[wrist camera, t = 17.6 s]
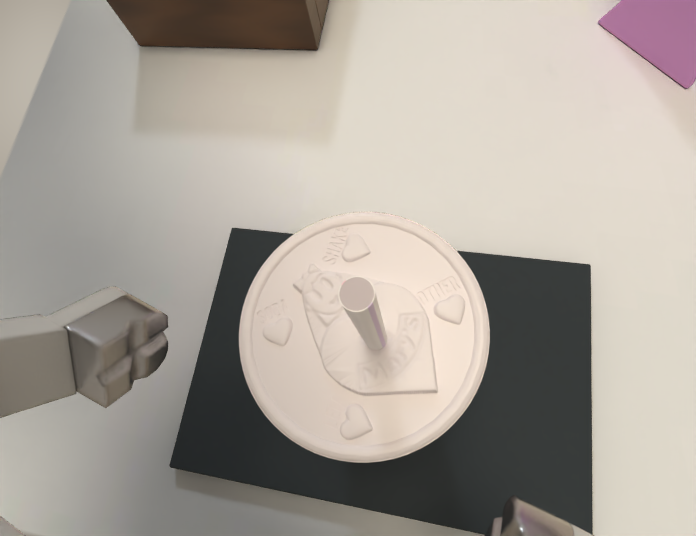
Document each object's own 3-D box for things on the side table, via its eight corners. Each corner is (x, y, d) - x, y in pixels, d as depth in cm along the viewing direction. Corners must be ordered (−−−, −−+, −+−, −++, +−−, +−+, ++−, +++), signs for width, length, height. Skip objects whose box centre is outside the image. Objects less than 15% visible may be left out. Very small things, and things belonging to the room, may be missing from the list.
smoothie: (388, 472, 18) (342, 635, 5) (285, 370, 20) (55, 294, 7) (481, 358, 19) (646, 242, 6) (374, 271, 21) (320, 40, 8)
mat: (175, 465, 20) (168, 467, 19) (235, 231, 24) (231, 227, 23) (587, 553, 17) (593, 558, 16) (586, 268, 20) (591, 264, 20)
